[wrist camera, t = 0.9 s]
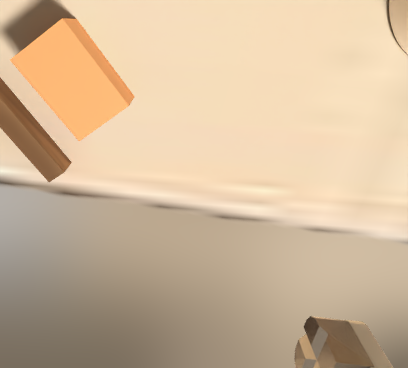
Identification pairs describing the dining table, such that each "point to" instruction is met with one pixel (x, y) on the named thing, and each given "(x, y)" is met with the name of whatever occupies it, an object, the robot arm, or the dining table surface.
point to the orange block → (73, 77)
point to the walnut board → (30, 136)
